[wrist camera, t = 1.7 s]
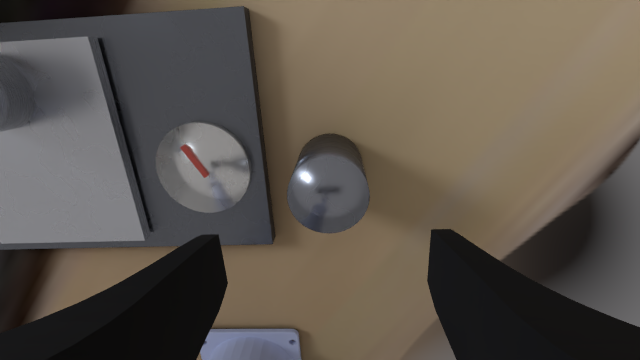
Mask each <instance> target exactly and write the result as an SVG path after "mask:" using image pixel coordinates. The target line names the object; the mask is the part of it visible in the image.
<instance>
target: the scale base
mask: <svg viewBox="0 0 640 360" xmlns="http://www.w3.org/2000/svg"><path fill="white" fill-rule="evenodd" d="M72 37H97V38H98V42H99V46H100V49H101V53H102V57H103V61H104V64H105V68H106V72H107V75H108V79H109V83H110V86H111V90H112V94H113V97H114V101H115V105H116V108H117V112H118V116H119V120H120V123H121V127H122V131H123V134H124V138H125V142H126V145H127V149H128V153H129V156H130V160H131V164H132V167H133V171H134V175H135V178H136V182H137V186H138V190H139V193H140V197H141V201H142V204H143V208H144V212H145V215H146V219H147V223H148V226H149V230H150V234H151V235H150V236H149V237H148V238H147V239H146V240H145V241H102V242H55V243H8V244H0V249H50V248H100V247H150V246H182V245H183V244H185V243H187V242H188V241H190V240H192V239H194V238H196V237H198V236H200V235H206V234H219V239H220V244H221V245H250V244H273V242H274V239H275V229H274V221H273V212H272V204H271V195H270V187H269V178H268V169H267V161H266V152H265V144H264V135H263V127H262V118H261V110H260V101H259V93H258V84H257V76H256V67H255V59H254V50H253V42H252V33H251V25H250V16H249V9H248V8H246V7H244V6H241V7H227V8H212V9H198V10H183V11H169V12H154V13H140V14H126V15H111V16H97V17H82V18H68V19H53V20H39V21H25V22H10V23H0V42H11V41H26V40H42V39H57V38H72Z"/></svg>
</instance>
